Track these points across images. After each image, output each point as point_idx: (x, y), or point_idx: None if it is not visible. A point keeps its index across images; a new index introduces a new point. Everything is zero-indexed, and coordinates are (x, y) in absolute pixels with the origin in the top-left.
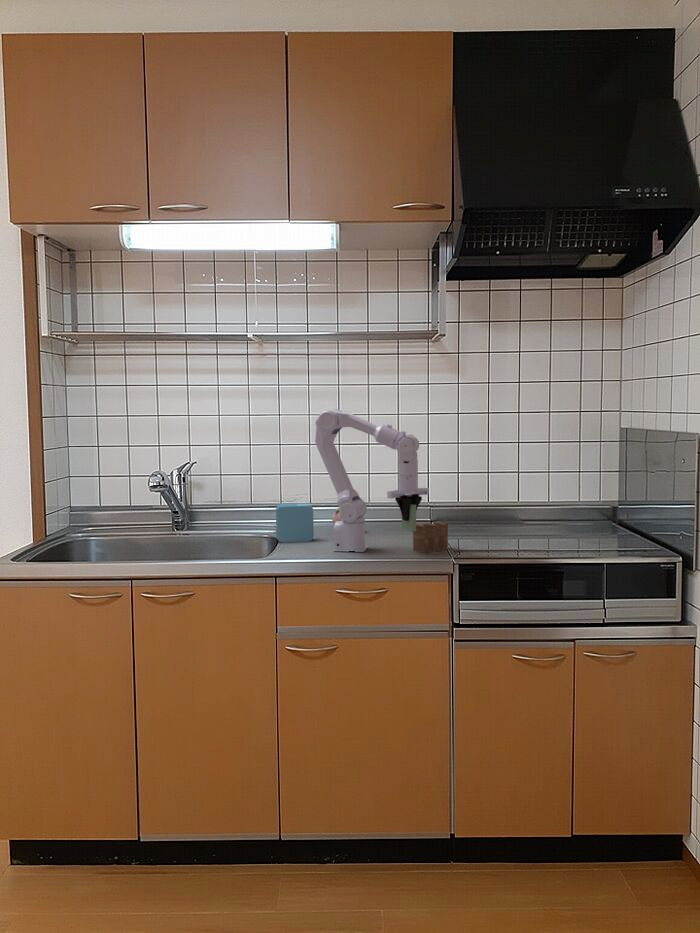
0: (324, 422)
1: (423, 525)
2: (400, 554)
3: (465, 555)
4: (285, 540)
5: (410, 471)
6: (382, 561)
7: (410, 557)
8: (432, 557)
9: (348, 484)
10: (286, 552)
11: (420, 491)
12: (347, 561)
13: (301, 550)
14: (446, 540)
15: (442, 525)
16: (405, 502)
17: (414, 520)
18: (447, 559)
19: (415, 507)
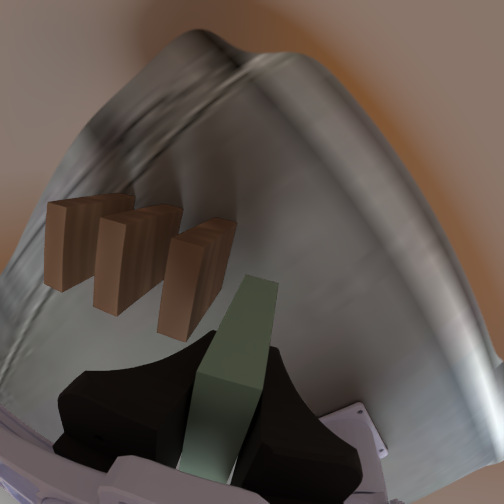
0: None
1: (122, 311)
2: (315, 287)
3: (166, 72)
4: None
5: None
6: (453, 263)
7: (341, 218)
8: (282, 141)
9: None
10: (429, 487)
11: (31, 452)
12: (487, 347)
13: (400, 488)
14: (103, 196)
15: (69, 218)
16: (348, 444)
17: (249, 305)
18: (274, 73)
19: (214, 357)
